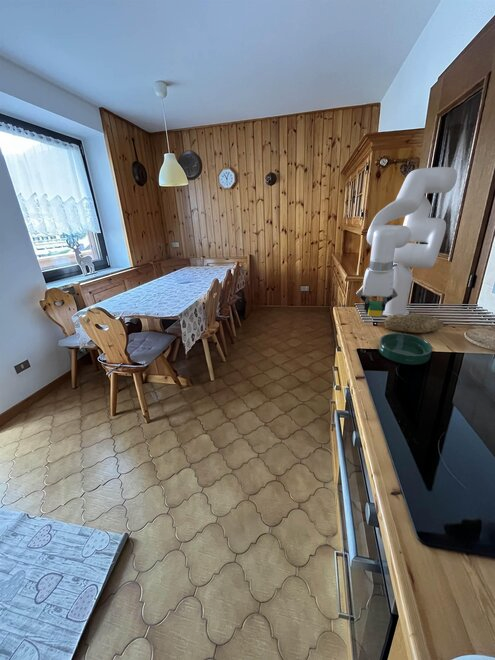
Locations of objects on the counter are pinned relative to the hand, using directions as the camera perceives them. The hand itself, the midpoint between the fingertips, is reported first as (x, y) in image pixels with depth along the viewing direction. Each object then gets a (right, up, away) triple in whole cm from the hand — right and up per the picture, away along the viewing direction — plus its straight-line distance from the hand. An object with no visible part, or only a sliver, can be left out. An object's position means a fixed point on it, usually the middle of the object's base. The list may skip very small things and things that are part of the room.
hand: (373, 311), depth 109 cm
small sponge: (0, 0, 0) cm, 0 cm away
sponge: (+19, -7, +7) cm, 21 cm away
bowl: (+7, -15, -9) cm, 19 cm away
